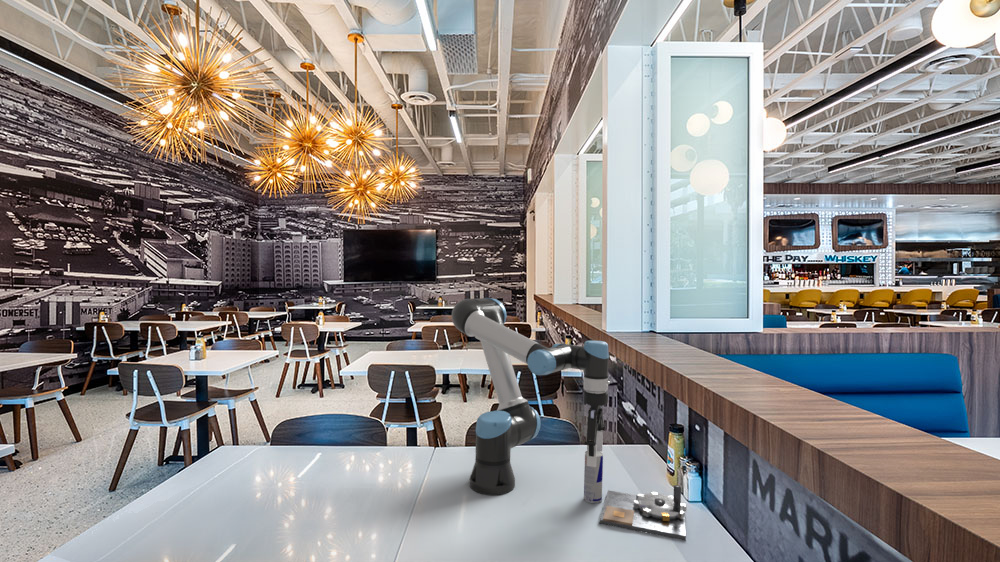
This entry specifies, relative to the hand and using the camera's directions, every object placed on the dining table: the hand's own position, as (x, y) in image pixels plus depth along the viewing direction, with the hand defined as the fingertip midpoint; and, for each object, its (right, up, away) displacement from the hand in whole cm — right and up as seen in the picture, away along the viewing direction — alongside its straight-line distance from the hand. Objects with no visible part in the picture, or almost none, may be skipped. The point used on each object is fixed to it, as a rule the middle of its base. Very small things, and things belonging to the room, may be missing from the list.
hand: (594, 458), depth 153 cm
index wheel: (+18, -12, -7) cm, 23 cm away
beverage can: (-1, -14, +1) cm, 14 cm away
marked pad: (+5, -12, -12) cm, 18 cm away
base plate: (+13, -14, -8) cm, 21 cm away
